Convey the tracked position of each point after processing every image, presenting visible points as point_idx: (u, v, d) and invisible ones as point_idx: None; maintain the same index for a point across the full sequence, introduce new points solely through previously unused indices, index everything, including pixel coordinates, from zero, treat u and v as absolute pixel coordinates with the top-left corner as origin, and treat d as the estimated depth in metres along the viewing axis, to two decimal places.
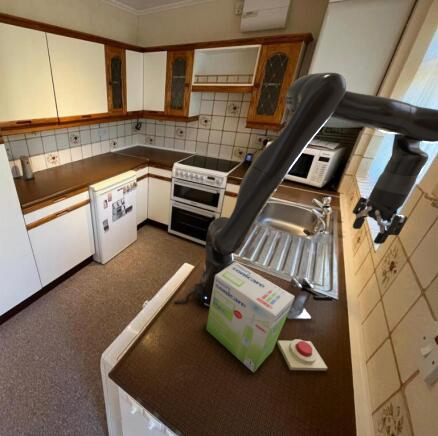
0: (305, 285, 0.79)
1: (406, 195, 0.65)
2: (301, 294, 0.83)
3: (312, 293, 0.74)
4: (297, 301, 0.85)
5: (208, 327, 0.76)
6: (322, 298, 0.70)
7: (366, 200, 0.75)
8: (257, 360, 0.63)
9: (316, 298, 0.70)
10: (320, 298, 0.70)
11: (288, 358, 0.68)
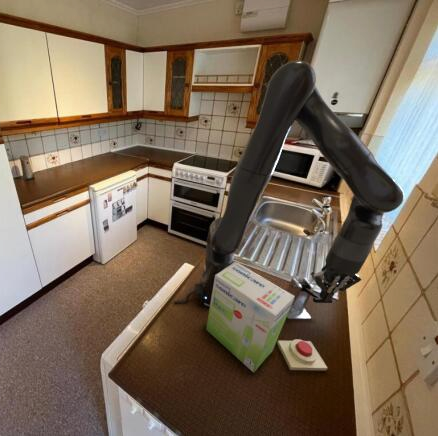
0: (305, 285, 0.79)
1: (336, 256, 0.61)
2: (301, 294, 0.83)
3: (312, 294, 0.74)
4: (297, 301, 0.85)
5: (208, 327, 0.76)
6: (322, 300, 0.70)
7: None
8: (257, 360, 0.63)
9: (316, 300, 0.70)
10: (320, 300, 0.70)
11: (288, 358, 0.68)
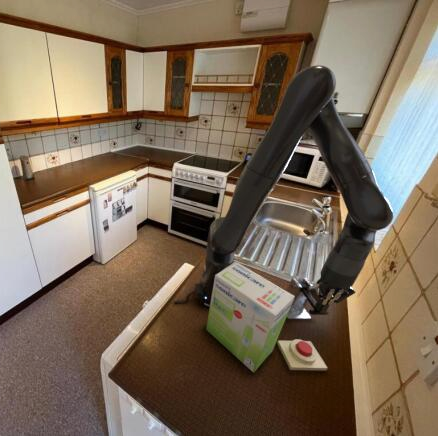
0: (305, 288, 0.79)
1: (330, 270, 0.63)
2: (301, 294, 0.83)
3: (310, 302, 0.75)
4: (297, 301, 0.85)
5: (208, 327, 0.76)
6: (318, 313, 0.72)
7: None
8: (257, 360, 0.63)
9: (312, 313, 0.72)
10: (316, 313, 0.72)
11: (288, 358, 0.68)
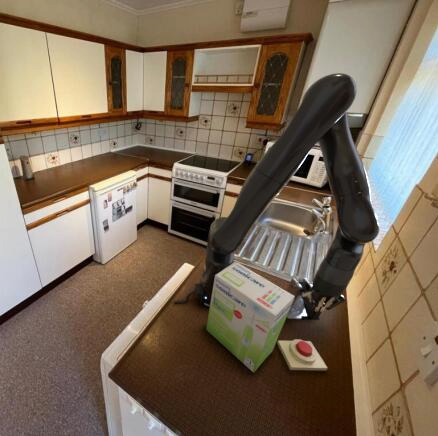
0: (305, 290, 0.79)
1: (322, 280, 0.66)
2: None
3: (305, 306, 0.78)
4: (297, 301, 0.85)
5: (208, 327, 0.76)
6: None
7: None
8: (257, 360, 0.63)
9: (304, 319, 0.76)
10: (307, 319, 0.75)
11: (288, 358, 0.68)
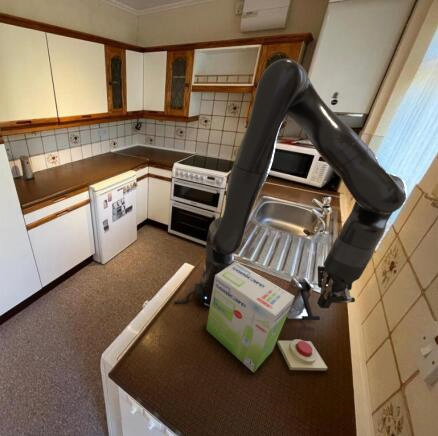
0: (305, 290, 0.79)
1: None
2: None
3: (305, 306, 0.77)
4: (297, 301, 0.85)
5: (208, 327, 0.76)
6: (310, 319, 0.75)
7: None
8: (257, 360, 0.63)
9: (304, 319, 0.75)
10: (308, 319, 0.75)
11: (288, 358, 0.68)
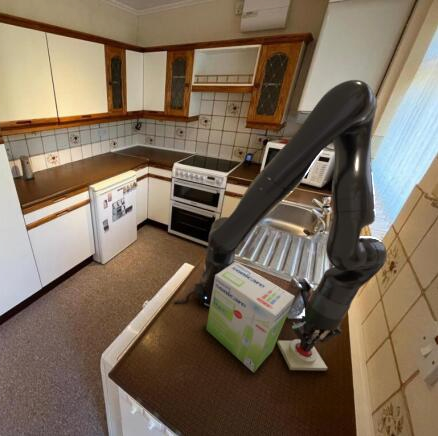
0: (305, 290, 0.79)
1: None
2: None
3: (305, 306, 0.77)
4: (297, 301, 0.85)
5: (208, 327, 0.76)
6: None
7: (299, 327, 0.63)
8: (257, 360, 0.63)
9: None
10: None
11: (288, 358, 0.68)
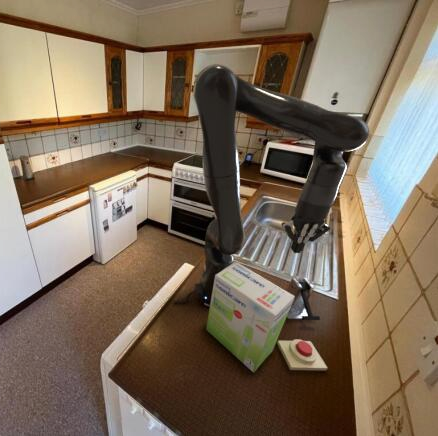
0: (305, 290, 0.79)
1: None
2: None
3: (305, 306, 0.77)
4: (297, 301, 0.85)
5: (208, 327, 0.76)
6: (310, 319, 0.75)
7: (290, 224, 0.66)
8: (257, 360, 0.63)
9: (304, 319, 0.75)
10: (308, 319, 0.75)
11: (288, 358, 0.68)
